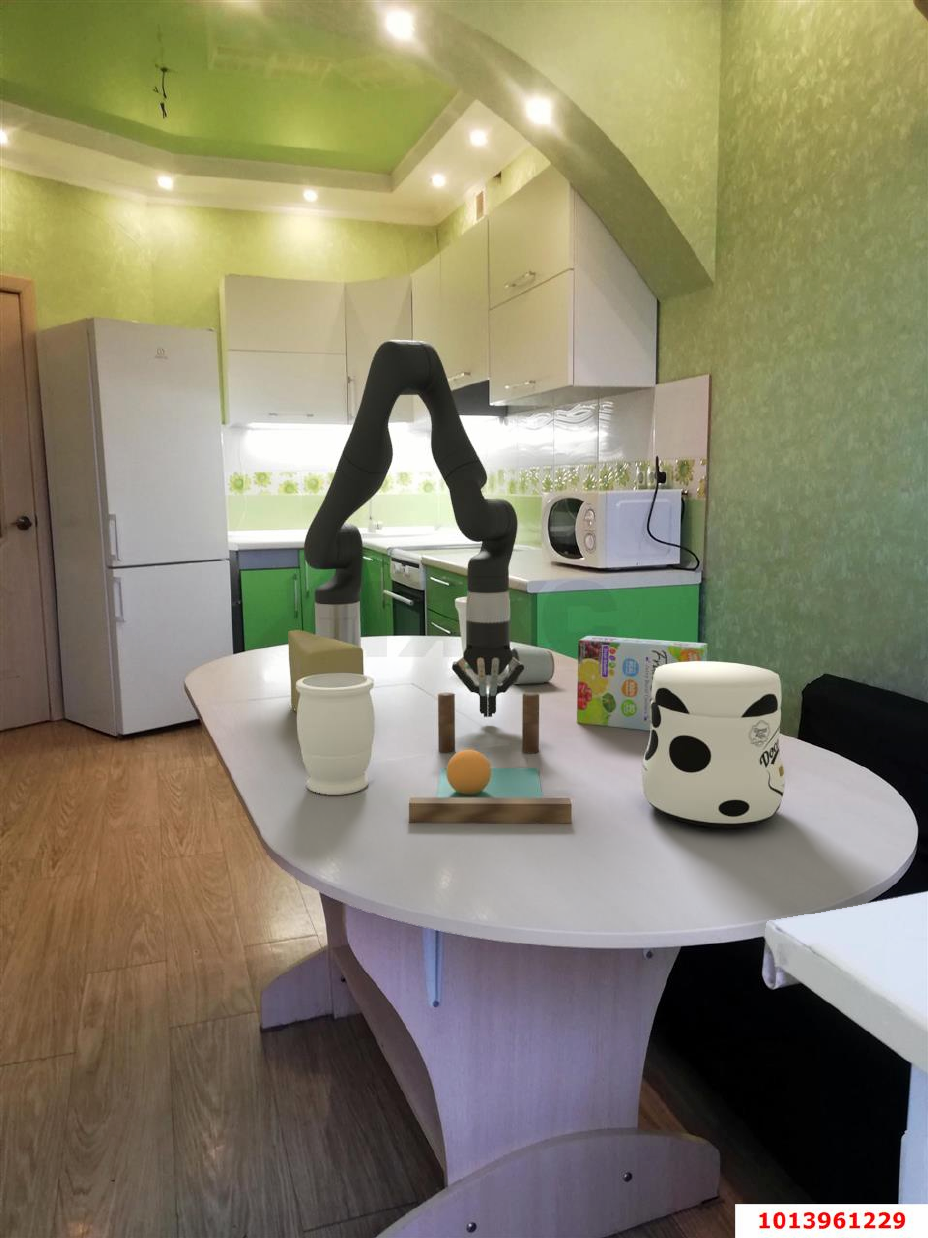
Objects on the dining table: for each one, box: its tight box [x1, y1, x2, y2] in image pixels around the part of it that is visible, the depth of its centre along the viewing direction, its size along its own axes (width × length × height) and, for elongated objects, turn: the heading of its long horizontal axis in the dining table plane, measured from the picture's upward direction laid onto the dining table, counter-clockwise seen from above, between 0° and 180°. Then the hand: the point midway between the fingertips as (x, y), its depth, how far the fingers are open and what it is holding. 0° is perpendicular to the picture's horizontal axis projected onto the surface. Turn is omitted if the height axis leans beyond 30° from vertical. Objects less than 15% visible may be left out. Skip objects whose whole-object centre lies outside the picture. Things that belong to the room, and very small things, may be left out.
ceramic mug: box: [507, 647, 555, 685], centre depth 182 cm, size 11×8×8 cm
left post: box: [437, 692, 456, 754], centre depth 134 cm, size 3×3×9 cm
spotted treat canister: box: [641, 660, 786, 829], centre depth 108 cm, size 17×17×18 cm
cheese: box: [287, 629, 365, 712], centre depth 152 cm, size 22×10×15 cm, turn 31°
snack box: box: [576, 635, 709, 732], centre depth 147 cm, size 21×6×15 cm, turn 65°
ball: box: [446, 749, 492, 795], centre depth 116 cm, size 6×6×6 cm
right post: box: [521, 692, 540, 754], centre depth 134 cm, size 3×3×9 cm
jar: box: [296, 673, 376, 796], centre depth 118 cm, size 11×10×15 cm
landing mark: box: [436, 767, 543, 798], centre depth 119 cm, size 14×14×1 cm
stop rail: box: [408, 796, 573, 824], centre depth 107 cm, size 20×2×2 cm, turn 89°
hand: (488, 715), depth 149 cm, fingers closed
